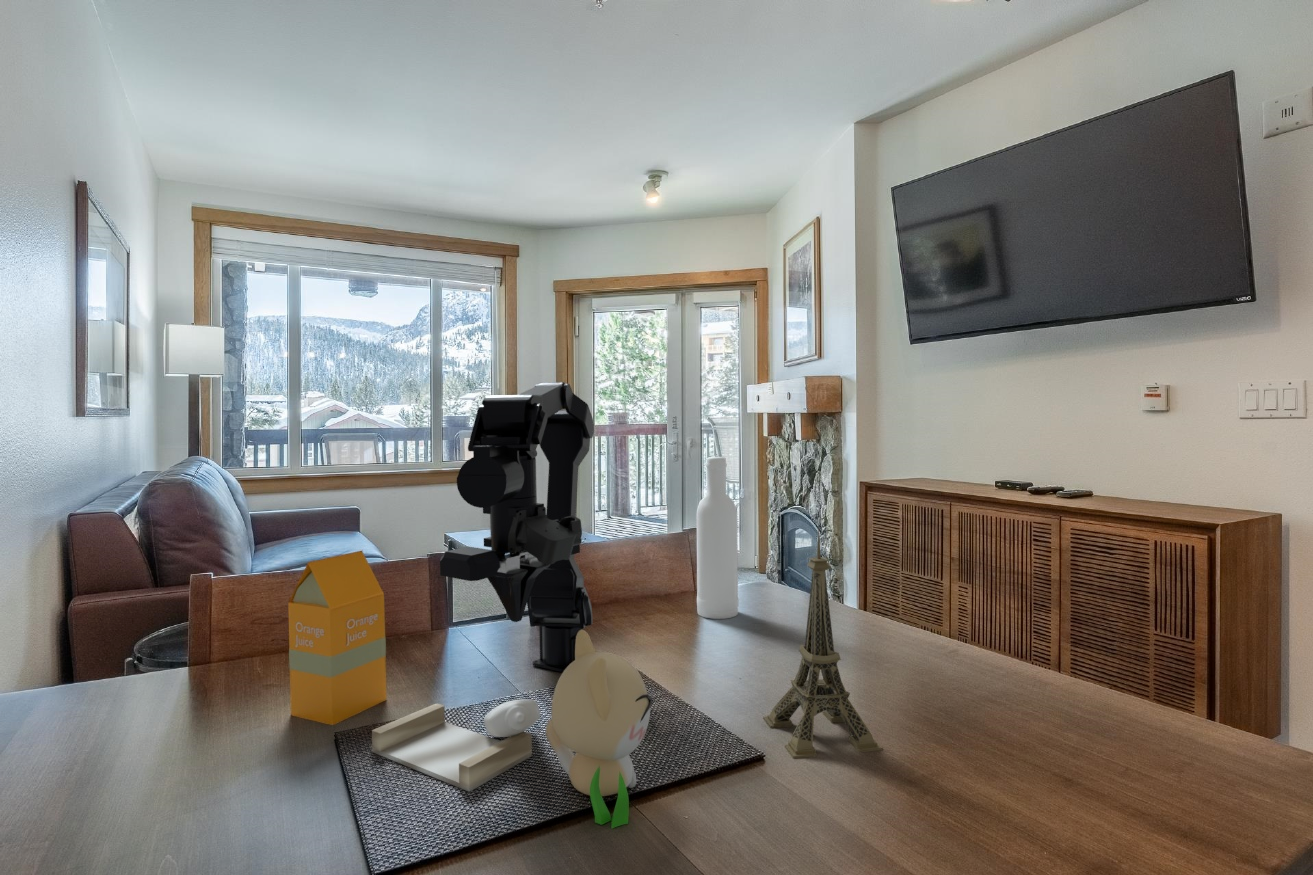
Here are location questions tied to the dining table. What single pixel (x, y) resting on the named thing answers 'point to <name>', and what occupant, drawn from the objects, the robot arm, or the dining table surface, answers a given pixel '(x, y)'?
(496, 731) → the eye dropper bottle
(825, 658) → the eiffel tower
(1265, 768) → the dining table surface
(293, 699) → the orange juice
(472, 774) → the u rest
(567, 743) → the kitten
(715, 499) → the bottle
